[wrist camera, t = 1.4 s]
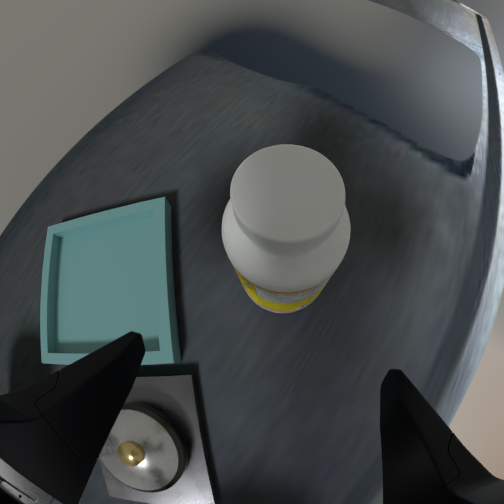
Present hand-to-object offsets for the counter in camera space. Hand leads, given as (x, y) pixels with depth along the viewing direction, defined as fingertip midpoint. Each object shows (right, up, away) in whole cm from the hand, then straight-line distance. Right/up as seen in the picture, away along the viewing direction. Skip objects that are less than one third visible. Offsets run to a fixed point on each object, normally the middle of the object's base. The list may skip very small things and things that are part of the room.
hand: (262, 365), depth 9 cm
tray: (-14, +1, +15) cm, 20 cm away
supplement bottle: (+2, +2, +14) cm, 14 cm away
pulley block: (-9, -12, +10) cm, 18 cm away
